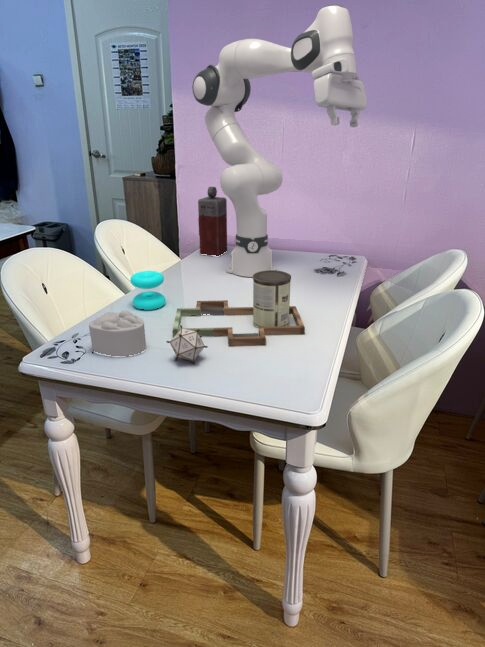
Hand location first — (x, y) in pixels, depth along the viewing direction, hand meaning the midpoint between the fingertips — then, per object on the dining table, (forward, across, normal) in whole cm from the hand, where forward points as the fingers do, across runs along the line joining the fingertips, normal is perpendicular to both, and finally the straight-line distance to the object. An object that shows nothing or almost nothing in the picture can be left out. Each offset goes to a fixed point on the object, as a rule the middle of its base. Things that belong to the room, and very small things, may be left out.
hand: (345, 125), depth 125 cm
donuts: (+42, +42, -49) cm, 77 cm away
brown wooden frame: (+49, +34, -20) cm, 63 cm away
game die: (+52, +56, -14) cm, 78 cm away
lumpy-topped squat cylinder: (+48, +64, -30) cm, 86 cm away
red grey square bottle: (+31, -12, -80) cm, 86 cm away
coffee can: (+51, +26, -14) cm, 59 cm away
